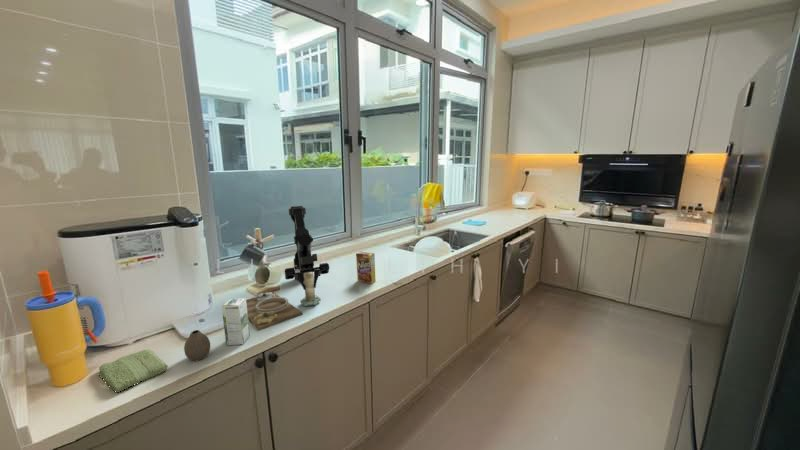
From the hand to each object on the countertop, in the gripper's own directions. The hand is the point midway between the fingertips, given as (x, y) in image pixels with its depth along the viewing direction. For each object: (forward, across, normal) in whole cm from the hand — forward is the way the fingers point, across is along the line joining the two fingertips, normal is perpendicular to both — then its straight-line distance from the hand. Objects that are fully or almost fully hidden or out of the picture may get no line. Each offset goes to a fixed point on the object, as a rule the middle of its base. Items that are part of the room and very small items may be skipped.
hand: (309, 288), depth 132 cm
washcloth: (+22, -54, -11) cm, 60 cm away
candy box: (-6, +30, +17) cm, 35 cm away
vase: (+22, -38, -12) cm, 45 cm away
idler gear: (+4, 0, +6) cm, 7 cm away
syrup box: (+18, -27, -8) cm, 33 cm away
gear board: (+3, -18, +7) cm, 19 cm away
